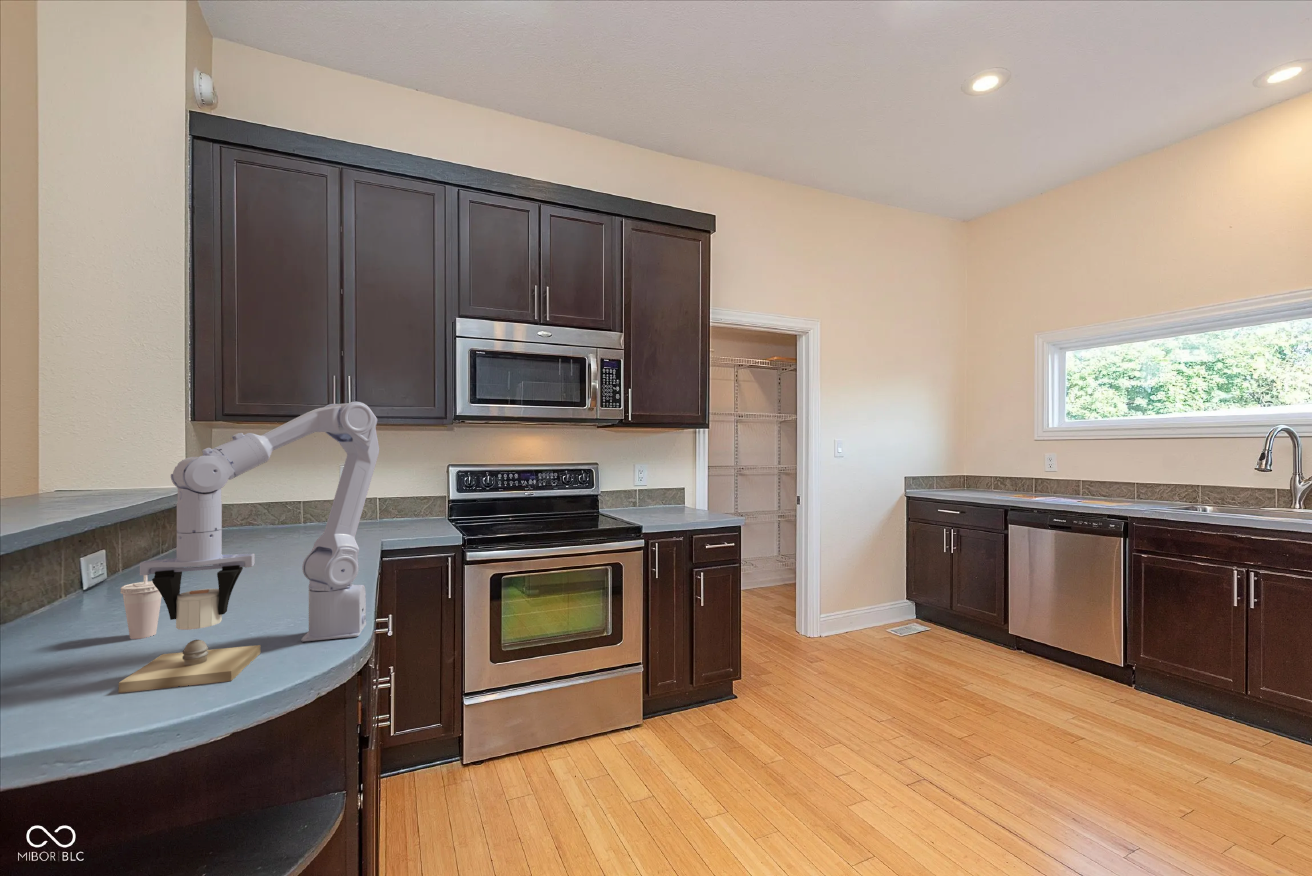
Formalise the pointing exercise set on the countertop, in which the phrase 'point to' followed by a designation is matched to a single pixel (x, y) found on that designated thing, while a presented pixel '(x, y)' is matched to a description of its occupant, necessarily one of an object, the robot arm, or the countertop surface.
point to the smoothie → (141, 608)
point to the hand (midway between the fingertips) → (199, 615)
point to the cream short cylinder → (197, 609)
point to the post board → (191, 667)
